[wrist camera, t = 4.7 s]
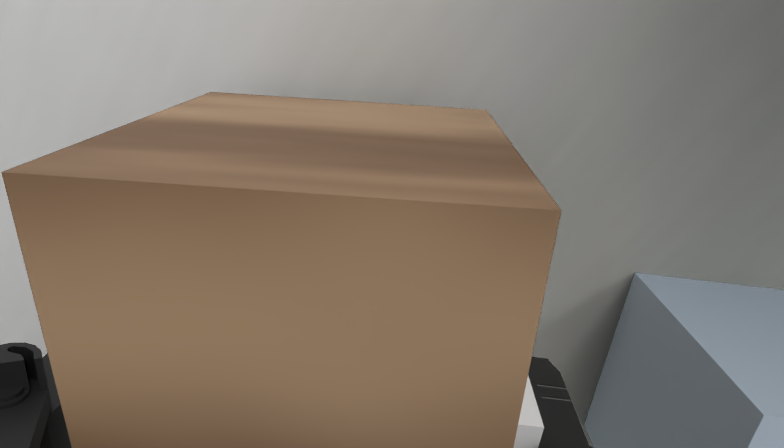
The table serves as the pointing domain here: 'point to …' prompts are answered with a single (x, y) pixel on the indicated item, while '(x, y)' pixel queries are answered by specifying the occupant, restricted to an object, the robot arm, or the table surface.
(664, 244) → the table surface
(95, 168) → the walnut brick
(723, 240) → the table surface
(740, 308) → the blue-grey cube
